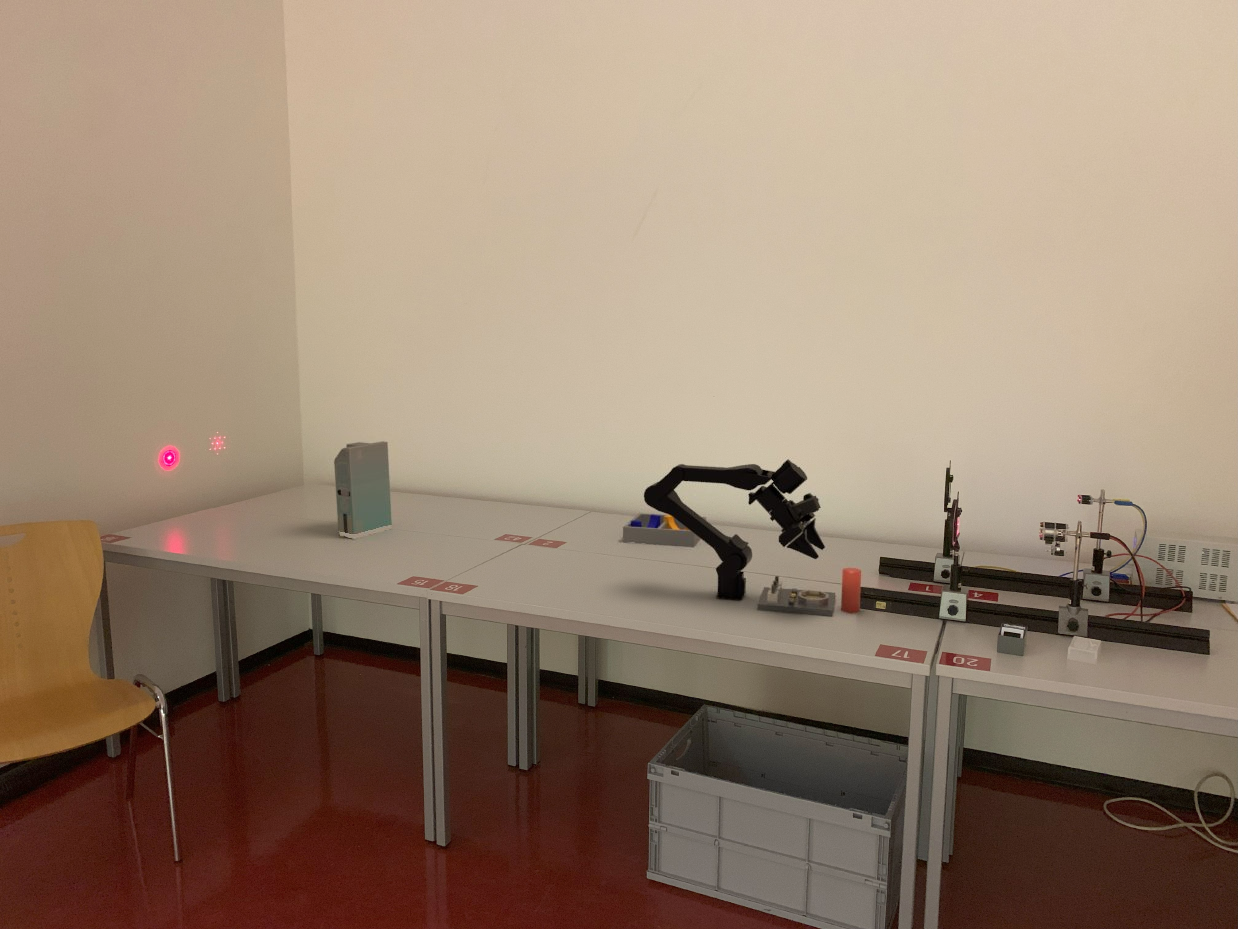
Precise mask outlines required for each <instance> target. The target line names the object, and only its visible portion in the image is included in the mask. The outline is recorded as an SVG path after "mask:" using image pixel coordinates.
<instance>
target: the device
mask: <svg viewBox="0 0 1238 929" xmlns="http://www.w3.org/2000/svg"><path fill="white" fill-rule="evenodd" d="M388 446H389V445H388V441H378V442H371V443H370V442H369V443H368V442H362V441H361V442H352V443H346V444H345V447H343V448H341V449H340V451H339V452H338V454H337V455H336V457H335V458H334V460H333V463H334V465H333V466H334V478H335V479H334V480H335V496H336V511H337V512H336V514H337V527H338V528H337V530H338V531H340V532H345V533H349V534H358V533H361V532H365V531H368V530H373V529H376V528H379V527H383V526H388V525H392V526H393V524H392V522H393V521H392V506H391V505H392V504H391V486H390V484H391V483H390V468H389V466H390V464H389V463H390V462H389V447H388Z"/></svg>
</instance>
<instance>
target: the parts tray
mask: <svg viewBox="0 0 1238 929" xmlns="http://www.w3.org/2000/svg"><path fill="white" fill-rule="evenodd" d="M652 514H653V513H640V512H639V513H637V515H635V516H634V517H633V518H632V519H631V520H630V521H628V522H627V523H626V524H625V525H623V526H622V543H626V542H635V543H634V544H641V543H645V545H656V544H658V545H659V546H673V547H674V546H675V547H685V548H687V547H689V548H695V547H696V545H697V544H698V543H699V542H700V541H701V540H700V538H699V537H698V536H697V535H696V534H694V533H693V532H692V531H690V530H684V529H686V527H685V526H684V525H683V524H681V523H680V522H679V521H678V520H676V519H675V518H674V517H673V519H674V522H675V524H676V526H677V527H678V528H679V529H681V530H676V529H667V522H665V521H664V516H667V515H668V514H658V513H657V514H655V513H654V514H655V515H660V526H659V527H658V528H646V527H647V526H648V524H649V521H650V515H652ZM701 517H702V518H703V519H705V520H706V521H707V517H706V516H701ZM632 520H637V521H641V525H642V527H631V521H632ZM658 545H657V546H658Z"/></svg>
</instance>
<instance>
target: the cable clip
mask: <svg viewBox="0 0 1238 929" xmlns="http://www.w3.org/2000/svg"><path fill="white" fill-rule="evenodd" d="M651 514H652V515H650V521H649V524H648V526H647V527H646V528H658V527H659V526H660V515H661V514H659V515H655V513H651ZM631 520H632V519H631ZM631 520H630V521H631ZM631 527H642V525H641V521H637V520H632V521H631Z"/></svg>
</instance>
